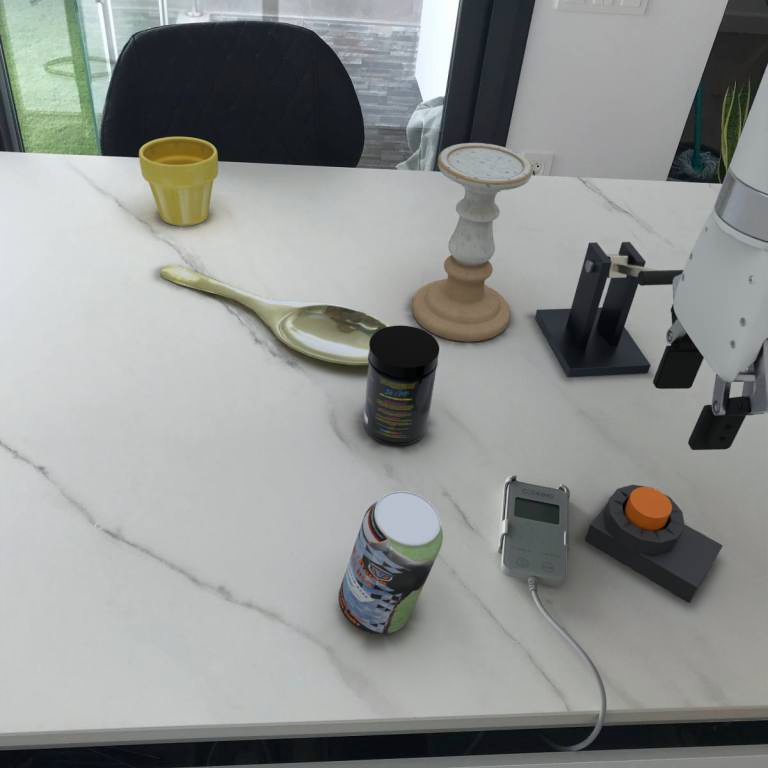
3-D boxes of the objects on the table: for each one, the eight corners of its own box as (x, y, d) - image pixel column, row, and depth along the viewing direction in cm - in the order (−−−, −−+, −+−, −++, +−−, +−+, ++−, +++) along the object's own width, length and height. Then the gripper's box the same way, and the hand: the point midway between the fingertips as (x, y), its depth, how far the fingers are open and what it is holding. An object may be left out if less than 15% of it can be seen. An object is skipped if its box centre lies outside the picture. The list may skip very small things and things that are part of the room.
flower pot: (178, 192, 117) (172, 129, 111) (235, 211, 114) (232, 146, 107) (131, 219, 109) (122, 153, 103) (191, 240, 106) (185, 172, 100)
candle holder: (505, 351, 92) (539, 193, 79) (403, 332, 93) (421, 175, 80) (512, 296, 101) (544, 148, 88) (420, 280, 103) (438, 132, 90)
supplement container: (434, 446, 78) (447, 365, 72) (369, 452, 77) (376, 370, 70) (419, 402, 83) (429, 323, 77) (357, 407, 82) (363, 327, 75)
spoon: (135, 298, 97) (132, 284, 96) (193, 264, 105) (191, 250, 103) (373, 390, 83) (373, 374, 82) (420, 343, 91) (421, 328, 89)
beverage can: (336, 579, 65) (342, 480, 57) (422, 576, 66) (439, 479, 58) (339, 646, 60) (346, 548, 53) (432, 642, 61) (453, 545, 53)
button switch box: (715, 559, 70) (731, 530, 67) (688, 605, 66) (703, 576, 63) (614, 502, 74) (626, 473, 72) (583, 541, 70) (593, 512, 68)
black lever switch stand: (647, 373, 91) (682, 279, 82) (567, 377, 89) (595, 281, 81) (608, 314, 100) (636, 225, 92) (534, 317, 98) (556, 226, 90)
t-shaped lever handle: (690, 289, 77) (692, 265, 76) (643, 291, 76) (645, 266, 75) (626, 274, 89) (628, 253, 89) (586, 275, 88) (587, 254, 88)
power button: (672, 514, 69) (678, 501, 68) (655, 538, 66) (662, 524, 65) (635, 493, 70) (640, 480, 69) (617, 516, 68) (623, 502, 67)
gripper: (917, 279, 43) (788, 496, 55) (768, 152, 57) (689, 349, 68) (793, 278, 42) (688, 499, 54) (671, 149, 56) (607, 349, 67)
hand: (689, 413), depth 61 cm, fingers open, 6 cm apart
